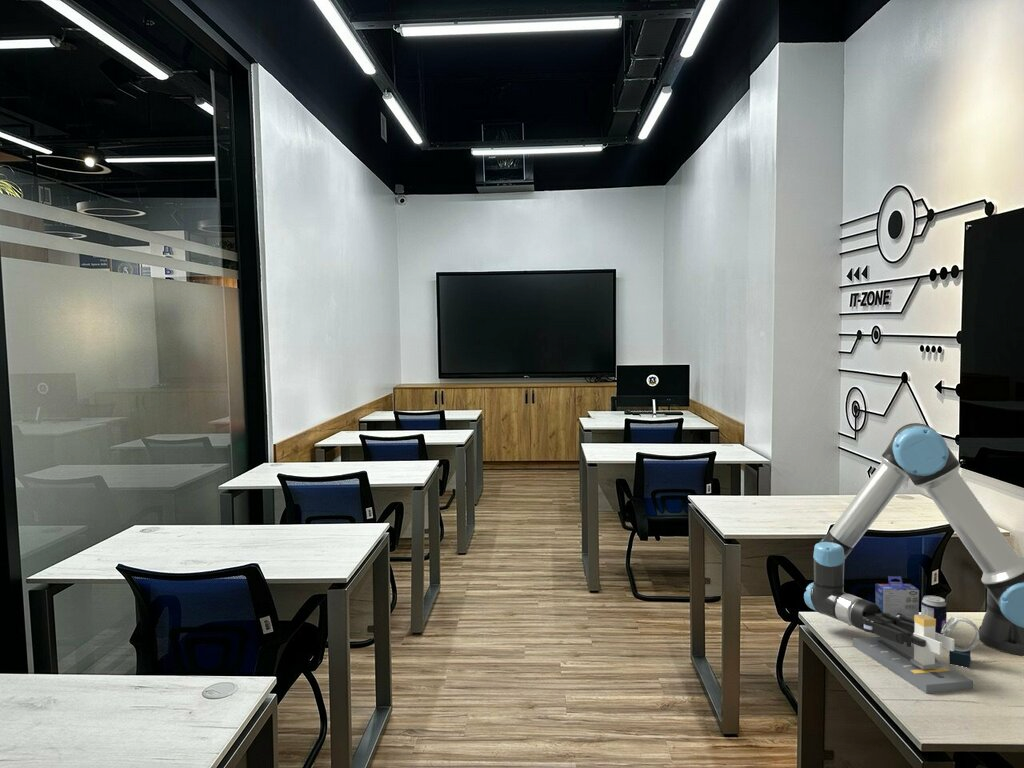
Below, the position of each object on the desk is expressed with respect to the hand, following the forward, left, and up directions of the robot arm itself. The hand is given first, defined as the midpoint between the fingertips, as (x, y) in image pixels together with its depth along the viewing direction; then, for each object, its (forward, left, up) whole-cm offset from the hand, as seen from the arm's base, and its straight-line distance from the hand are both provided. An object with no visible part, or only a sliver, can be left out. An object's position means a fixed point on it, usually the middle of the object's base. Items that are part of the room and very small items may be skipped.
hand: (946, 646), depth 159 cm
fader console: (+1, -10, -9) cm, 14 cm away
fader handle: (+1, -5, -7) cm, 8 cm away
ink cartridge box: (-12, -31, -9) cm, 35 cm away
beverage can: (-15, -21, -9) cm, 27 cm away
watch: (-13, -10, -9) cm, 19 cm away
